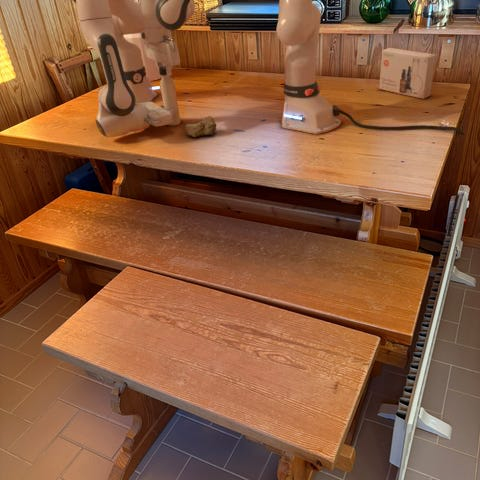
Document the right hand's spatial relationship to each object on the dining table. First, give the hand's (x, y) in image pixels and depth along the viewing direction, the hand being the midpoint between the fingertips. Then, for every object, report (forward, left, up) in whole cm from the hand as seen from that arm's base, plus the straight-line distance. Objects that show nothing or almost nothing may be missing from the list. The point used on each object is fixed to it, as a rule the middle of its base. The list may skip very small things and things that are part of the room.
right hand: (165, 74), depth 171 cm
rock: (-18, 0, -19) cm, 26 cm away
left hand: (0, -1, -13) cm, 13 cm away
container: (+69, -33, -19) cm, 79 cm away
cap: (0, 0, +2) cm, 2 cm away
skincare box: (-53, -78, -19) cm, 96 cm away
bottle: (0, 0, -19) cm, 19 cm away
